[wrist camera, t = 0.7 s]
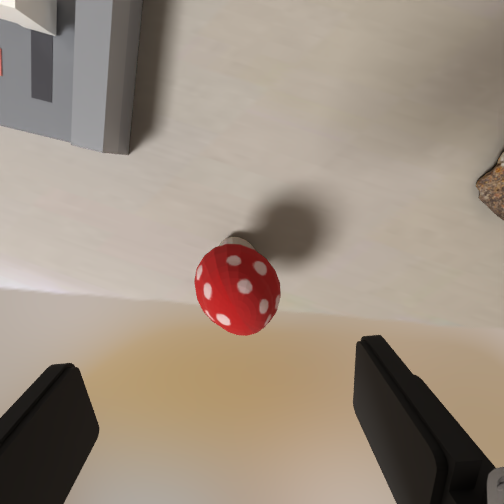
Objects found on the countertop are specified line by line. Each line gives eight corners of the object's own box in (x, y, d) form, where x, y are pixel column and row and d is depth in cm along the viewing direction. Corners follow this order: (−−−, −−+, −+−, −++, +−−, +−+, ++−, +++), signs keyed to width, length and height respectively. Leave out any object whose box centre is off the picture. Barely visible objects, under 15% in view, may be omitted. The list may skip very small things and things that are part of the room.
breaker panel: (-27, -137, 25) (-117, -238, 18) (150, -77, 26) (122, -151, 20) (-14, 120, 31) (-77, 109, 25) (128, 154, 33) (102, 152, 27)
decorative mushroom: (193, 241, 37) (163, 290, 22) (248, 211, 36) (255, 242, 21) (229, 298, 39) (223, 374, 25) (281, 272, 39) (306, 335, 24)
